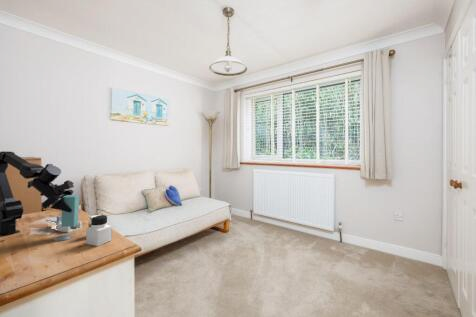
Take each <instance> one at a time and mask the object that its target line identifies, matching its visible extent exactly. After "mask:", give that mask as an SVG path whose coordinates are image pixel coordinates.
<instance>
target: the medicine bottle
mask: <svg viewBox="0 0 476 317" xmlns="http://www.w3.org/2000/svg"><path fill="white" fill-rule="evenodd" d="M97 215H98V216H94V217H92V219H91V226H92V227H89V228H88V227H87V228H85V229H86V231H85V232H86V233H85V236H86V237H85V244H86V245H90V246H94V247H100V246H102V245H104V243H105V244H106V243H109V242H111V241H112V233H113V232H112V230H113V229H112V228H113V227H112V225H109V224H108V216H107V215H104V214H97Z"/></svg>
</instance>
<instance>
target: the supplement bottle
mask: <svg viewBox="0 0 476 317" xmlns="http://www.w3.org/2000/svg"><path fill="white" fill-rule="evenodd" d="M98 215H99V214H94V215H91V216H89V221H88V223H87V224H88V225H87V226H88V227H87V228H89V227H92V226H91V219H92V217H94V216H98Z"/></svg>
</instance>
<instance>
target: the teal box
mask: <svg viewBox="0 0 476 317" xmlns="http://www.w3.org/2000/svg"><path fill="white" fill-rule="evenodd" d="M62 198H63V197H62ZM64 202H65V203H66V204H67V205H68V206H69V207H70V209H71V210H72V212H66V211H62V210H61V215H62V222H61V227H70V226H75V225H76V224H78V221H79V215H80V214H79V211H80V208H79V207H80V195H79V194H72V195H66V196H64Z"/></svg>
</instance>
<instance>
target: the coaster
mask: <svg viewBox="0 0 476 317" xmlns="http://www.w3.org/2000/svg"><path fill="white" fill-rule="evenodd" d="M72 238H73V235H72V234H63V235H62V234H61V235H58V236H55V237H53V241H54V242H64V241H68V240H70V239H72Z"/></svg>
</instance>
